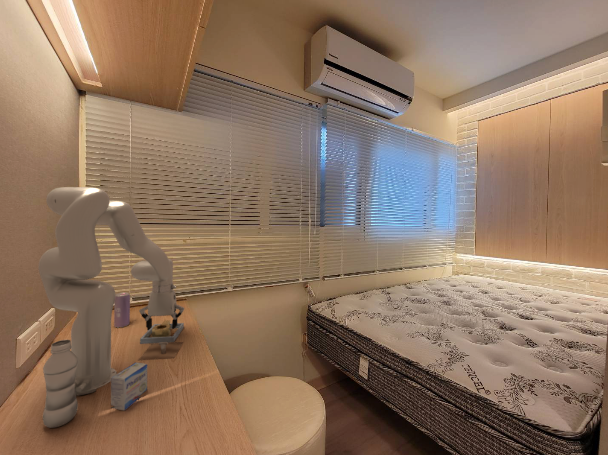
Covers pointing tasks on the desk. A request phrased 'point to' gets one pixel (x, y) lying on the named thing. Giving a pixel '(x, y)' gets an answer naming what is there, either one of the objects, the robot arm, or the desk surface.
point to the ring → (162, 329)
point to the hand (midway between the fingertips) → (161, 328)
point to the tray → (146, 340)
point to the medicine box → (128, 386)
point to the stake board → (157, 350)
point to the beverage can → (122, 310)
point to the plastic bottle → (60, 385)
